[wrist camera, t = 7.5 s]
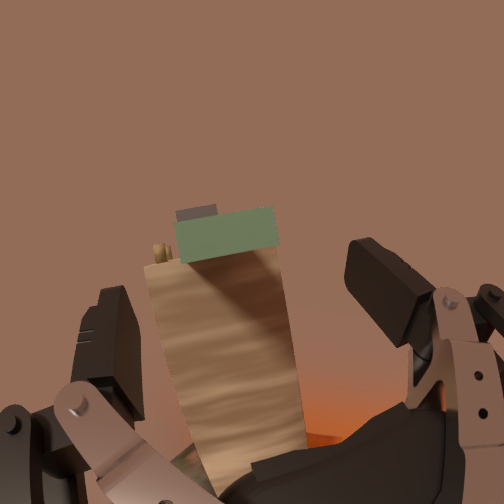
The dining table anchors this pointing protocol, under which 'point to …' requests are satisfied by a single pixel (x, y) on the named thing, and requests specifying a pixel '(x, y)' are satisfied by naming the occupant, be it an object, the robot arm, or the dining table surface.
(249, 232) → the grey-green rectangular bar
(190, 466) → the dining table surface
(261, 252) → the stand
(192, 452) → the dining table surface
